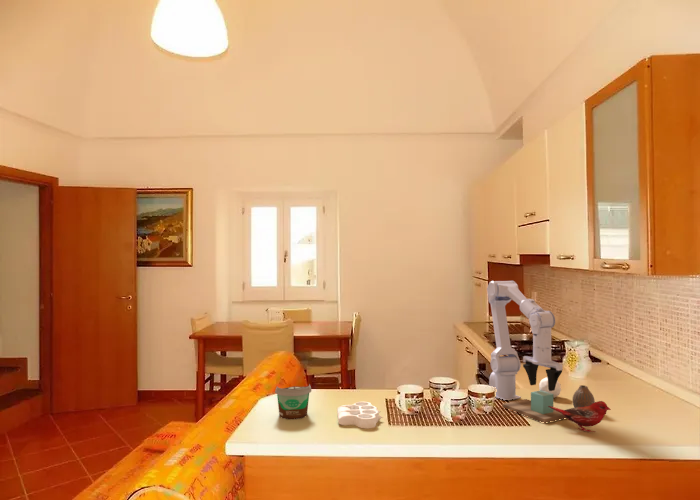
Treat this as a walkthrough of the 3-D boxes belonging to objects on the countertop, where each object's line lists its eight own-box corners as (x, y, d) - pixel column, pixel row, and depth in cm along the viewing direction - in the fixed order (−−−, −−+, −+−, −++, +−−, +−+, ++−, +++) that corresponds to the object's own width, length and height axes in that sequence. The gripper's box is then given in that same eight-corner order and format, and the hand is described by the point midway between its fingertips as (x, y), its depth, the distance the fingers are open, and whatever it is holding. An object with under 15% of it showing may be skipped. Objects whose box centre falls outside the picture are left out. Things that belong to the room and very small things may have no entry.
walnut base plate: (502, 408, 172) (502, 394, 172) (526, 403, 178) (526, 389, 178) (544, 423, 157) (544, 408, 157) (569, 417, 162) (569, 402, 162)
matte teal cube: (530, 410, 166) (530, 392, 166) (541, 407, 168) (541, 390, 168) (543, 414, 161) (543, 396, 161) (553, 411, 164) (553, 394, 164)
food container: (277, 422, 158) (277, 391, 158) (274, 416, 164) (274, 386, 164) (314, 418, 161) (314, 388, 161) (311, 412, 167) (311, 383, 167)
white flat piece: (336, 411, 170) (378, 410, 171) (338, 430, 152) (385, 429, 153) (336, 401, 170) (378, 401, 171) (338, 419, 152) (385, 418, 153)
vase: (592, 409, 171) (592, 384, 171) (596, 415, 165) (596, 389, 165) (571, 407, 173) (571, 382, 173) (574, 413, 167) (574, 388, 167)
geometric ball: (554, 404, 186) (568, 388, 185) (547, 400, 181) (561, 384, 180) (539, 390, 192) (552, 374, 191) (531, 386, 186) (545, 370, 185)
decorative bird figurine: (610, 437, 145) (610, 403, 145) (547, 426, 154) (547, 395, 154) (611, 434, 148) (611, 401, 148) (548, 424, 156) (548, 392, 157)
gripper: (516, 344, 169) (516, 383, 169) (552, 352, 157) (552, 394, 157) (531, 342, 173) (531, 381, 173) (566, 350, 160) (566, 391, 160)
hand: (542, 387), depth 165 cm, fingers open, 7 cm apart
